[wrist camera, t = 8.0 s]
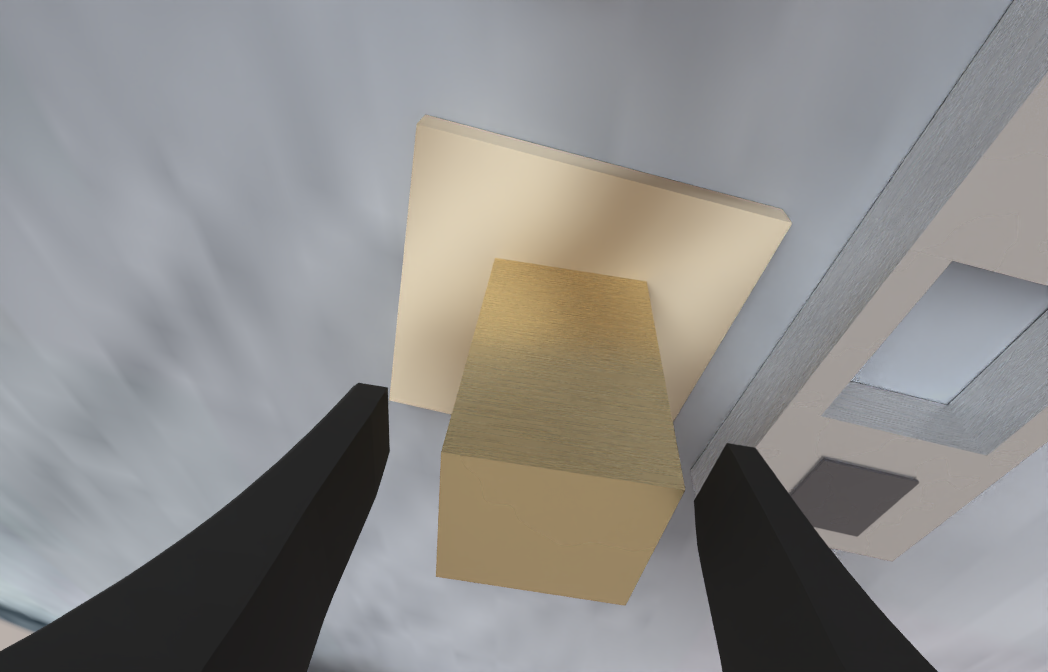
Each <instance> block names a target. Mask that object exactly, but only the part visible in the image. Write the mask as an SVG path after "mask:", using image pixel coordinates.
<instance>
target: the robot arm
mask: <svg viewBox="0 0 1048 672" xmlns="http://www.w3.org/2000/svg"><path fill="white" fill-rule="evenodd" d="M389 452H390V447H389V415H388V388H387V387H381V386H375V385H369V384H363V383H358V384H356V385H355V386H353V387H352V388H351V390H350V391H349V392H348V393H347V394H346V395H345V396H344V397H343V398H342V399H341V400H340V401H339V402H338V403H337V405H336V406H335V407H334V408H333V409H332V410H331V411H330V412H329V413H328V414H327V415H326V416H325V417H324V418H323V419H322V420H321V421H320V422H319V423H318V424H317V425H316V426H315V427H314V428H313V429H312V430H311V431H310V432H309V433H308V434H307V435H306V436H305V437H304V438H302V439H301V440H300V441H299V442H298V443H297V444H296V445H295V446H294V447H293V448H292V449H291V450H290V451H289V452H288V453H287V454H286V455H284V456H283V457H282V458H281V459H280V460H279V461H278V462H277V463H276V464H275V465H273V466H272V467H271V468H270V469H269V470H268V471H266V472H265V473H264V474H263V475H262V476H261V477H259V478H258V479H257V480H256V481H255V482H254V483H252V484H251V485H250V486H249V487H248V488H247V489H245V490H244V491H243V492H242V493H241V494H240V495H238V496H237V497H236V498H235V499H233V500H232V501H231V502H230V503H228V504H227V505H226V506H225V507H223V508H222V509H221V510H220V511H218V512H217V513H216V514H214V515H213V516H212V517H211V518H209V519H208V520H206V521H205V522H204V523H202V524H201V525H200V526H198V527H197V528H196V529H194V530H193V531H192V532H190V533H189V534H188V535H186V536H185V537H184V538H182V539H181V540H179V541H178V542H176V543H175V544H173V545H172V546H171V547H169V548H168V549H166V550H165V551H163V552H162V553H161V554H159V555H158V556H156V557H155V558H153V559H152V560H150V561H149V562H148V563H146V564H145V565H143V566H142V567H140V568H139V569H137V570H136V571H134V572H133V573H131V574H130V575H128V576H126V577H125V578H123V579H122V580H120V581H119V582H117V583H116V584H114V585H112V586H111V587H109V588H107V589H106V590H104V591H102V592H101V593H99V594H98V595H96V596H94V597H93V598H91V599H89V600H88V601H86V602H84V603H83V604H81V605H80V606H78V607H76V608H75V609H73V610H71V611H70V612H68V613H66V614H65V615H63V616H62V617H60V618H58V619H57V620H55V621H53V622H52V623H50V624H48V625H47V626H45V627H43V628H41V629H40V630H38V631H36V632H34V633H33V634H31V635H29V636H27V637H26V638H24V639H22V640H20V641H18V642H16V643H15V644H13V645H11V646H9V647H7V648H5V649H4V650H2V651H0V672H307V670H308V667H309V664H310V661H311V658H312V655H313V651H314V648H315V645H316V642H317V639H318V636H319V633H320V630H321V627H322V624H323V621H324V618H325V616H326V613H327V611H328V608H329V605H330V603H331V600H332V598H333V595H334V593H335V591H336V588H337V586H338V584H339V581H340V579H341V577H342V574H343V572H344V570H345V568H346V565H347V563H348V561H349V558H350V556H351V554H352V551H353V549H354V547H355V544H356V542H357V540H358V538H359V535H360V533H361V531H362V528H363V526H364V524H365V521H366V519H367V517H368V514H369V512H370V509H371V507H372V505H373V502H374V500H375V498H376V495H377V492H378V489H379V485H380V482H381V479H382V476H383V472H384V469H385V465H386V462H387V459H388V455H389ZM694 508H695V524H696V535H697V546H698V552H699V557H700V563H701V568H702V573H703V578H704V583H705V587H706V592H707V597H708V602H709V607H710V611H711V616H712V621H713V626H714V630H715V635H716V640H717V645H718V650H719V654H720V660H721V666H722V671H723V672H938V671H937V670H936V669H935V668H934V667H933V666H932V665H931V664H930V663H929V662H928V661H927V660H926V659H925V658H924V657H923V656H922V655H921V654H920V653H919V651H918V650H917V649H916V648H915V647H914V646H913V645H912V644H911V643H910V642H909V641H908V640H907V639H906V637H905V636H904V635H903V634H902V633H901V632H900V631H899V630H898V629H897V628H896V627H895V626H894V625H893V623H892V622H891V621H890V620H889V619H888V618H887V617H886V616H885V614H884V613H883V612H882V611H881V610H880V609H879V608H878V607H877V605H876V604H875V603H874V602H873V601H872V600H871V598H870V597H869V596H868V595H867V594H866V592H865V591H864V590H863V589H862V588H861V586H860V585H859V584H858V583H857V582H856V580H855V579H854V578H853V577H852V576H851V574H850V573H849V572H848V571H847V570H846V568H845V567H844V566H843V564H842V563H841V562H840V561H839V559H838V558H837V557H836V556H835V554H834V553H833V552H832V551H831V549H830V548H829V547H828V545H827V544H826V543H825V542H824V540H823V539H822V538H821V536H820V535H819V534H818V532H817V531H816V530H815V528H814V527H813V526H812V524H811V523H810V522H809V520H808V519H807V518H806V516H805V515H804V514H803V512H802V511H801V510H800V508H799V507H798V505H797V504H796V503H795V501H794V500H793V499H792V497H791V496H790V494H789V493H788V492H787V490H786V489H785V488H784V486H783V485H782V483H781V482H780V481H779V479H778V478H777V476H776V475H775V474H774V472H773V471H772V469H771V468H770V467H769V465H768V464H767V463H766V461H765V460H764V458H763V457H762V456H761V454H760V453H759V452H758V450H757V449H756V448H755V447H749V446H743V445H737V444H730V443H726V445H725V447H724V449H723V450H722V452H721V454H720V456H719V457H718V459H717V461H716V463H715V465H714V466H713V468H712V470H711V472H710V473H709V475H708V477H707V479H706V480H705V482H704V484H703V486H702V487H701V489H700V491H699V493H698V494H697V496H696V498H695V500H694Z"/></svg>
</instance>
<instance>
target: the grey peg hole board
mask: <svg viewBox="0 0 1048 672" xmlns="http://www.w3.org/2000/svg"><path fill="white" fill-rule="evenodd" d="M952 261H956V262H959V263H963V264H967V265H971V266H974V267H978V268H982V269H986V270H990V271H993V272H997V273H1001V274H1005V275H1008V276H1012V277H1016V278H1020V279H1024V280H1027V281H1031V282H1035V283H1039V284H1043V285H1046V286H1048V0H1014V1H1013V3H1012V4H1011V6H1010V7H1009V9H1008V10H1007V11H1006V13H1005V14H1004V16H1003V17H1002V19H1001V20H1000V22H999V23H998V25H997V26H996V27H995V29H994V30H993V32H992V33H991V35H990V36H989V38H988V39H987V41H986V42H985V43H984V45H983V46H982V48H981V49H980V51H979V52H978V54H977V55H976V57H975V58H974V59H973V61H972V62H971V64H970V65H969V67H968V68H967V70H966V71H965V72H964V74H963V75H962V77H961V78H960V80H959V81H958V83H957V84H956V86H955V87H954V88H953V90H952V91H951V93H950V94H949V96H948V97H947V99H946V100H945V102H944V103H943V104H942V106H941V107H940V109H939V110H938V112H937V113H936V115H935V116H934V118H933V119H932V120H931V122H930V123H929V125H928V126H927V128H926V129H925V131H924V132H923V134H922V135H921V136H920V138H919V139H918V141H917V142H916V144H915V145H914V147H913V148H912V150H911V151H910V152H909V154H908V155H907V157H906V158H905V160H904V161H903V163H902V164H901V166H900V167H899V168H898V170H897V171H896V173H895V174H894V176H893V177H892V179H891V180H890V182H889V183H888V184H887V186H886V187H885V189H884V190H883V192H882V193H881V195H880V196H879V198H878V199H877V200H876V202H875V203H874V205H873V206H872V208H871V209H870V211H869V212H868V214H867V215H866V216H865V218H864V219H863V221H862V222H861V224H860V225H859V227H858V228H857V230H856V231H855V232H854V234H853V235H852V237H851V238H850V240H849V241H848V243H847V244H846V245H845V247H844V248H843V250H842V251H841V253H840V254H839V256H838V257H837V259H836V260H835V261H834V263H833V264H832V266H831V267H830V269H829V270H828V272H827V273H826V275H825V276H824V277H823V279H822V280H821V282H820V283H819V285H818V286H817V288H816V289H815V291H814V292H813V293H812V295H811V296H810V298H809V299H808V301H807V302H806V304H805V305H804V307H803V308H802V309H801V311H800V312H799V314H798V315H797V317H796V318H795V320H794V321H793V323H792V324H791V325H790V327H789V328H788V330H787V331H786V333H785V334H784V336H783V337H782V339H781V340H780V341H779V343H778V344H777V346H776V347H775V349H774V350H773V352H772V353H771V355H770V356H769V357H768V359H767V360H766V362H765V363H764V365H763V366H762V368H761V369H760V371H759V372H758V373H757V375H756V376H755V378H754V379H753V381H752V382H751V384H750V385H749V387H748V388H747V389H746V391H745V392H744V394H743V395H742V397H741V398H740V400H739V401H738V403H737V404H736V405H735V407H734V408H733V410H732V411H731V413H730V414H729V416H728V417H727V418H726V420H725V421H724V423H723V424H722V426H721V427H720V429H719V430H718V432H717V433H716V434H715V436H714V437H713V439H712V440H711V442H710V443H709V445H708V446H707V448H706V449H705V450H704V452H703V453H702V455H701V456H700V458H699V459H698V461H697V462H696V464H695V465H694V466H693V468H692V469H691V471H690V472H691V477H692V482H693V487H694V492H695V497H696V496H697V494H698V493H699V491H700V489H701V487H702V486H703V484H704V482H705V480H706V479H707V477H708V475H709V473H710V472H711V470H712V468H713V466H714V465H715V463H716V461H717V459H718V457H719V456H720V454H721V452H722V450H723V449H724V447H725V445H726V443H730V444H737V445H743V446H749V447H755V448H756V449H757V450H758V452H759V453H760V454H761V456H762V457H763V458H764V460H765V461H766V463H767V464H768V465H769V467H770V468H771V469H772V471H773V472H774V474H775V475H776V476H777V478H778V479H779V481H780V482H781V483H782V485H783V486H784V488H785V489H786V490H787V492H788V493H789V494H790V496H791V497H792V499H793V500H794V501H795V503H796V504H797V505H798V507H799V508H800V510H801V511H802V512H803V514H804V515H805V516H806V518H807V519H808V520H809V522H810V523H811V524H812V526H813V527H814V528H815V530H816V531H817V532H818V534H819V535H820V536H821V538H822V539H823V540H824V542H825V543H826V544H827V545H828V547H829V548H833V549H838V550H842V551H847V552H851V553H856V554H860V555H865V556H869V557H874V558H878V559H883V560H888V561H894V560H895V559H896V558H897V557H899V556H900V555H901V554H903V553H904V552H905V551H907V550H908V549H909V548H910V547H912V546H913V545H914V544H916V543H917V542H918V541H920V540H921V539H922V538H923V537H925V536H926V535H927V534H929V533H930V532H931V531H933V530H934V529H935V528H936V527H938V526H939V525H940V524H942V523H943V522H944V521H946V520H947V519H948V518H949V517H951V516H952V515H953V514H955V513H956V512H957V511H958V510H960V509H961V508H962V507H964V506H965V505H966V504H968V503H969V502H970V501H971V500H973V499H974V498H975V497H977V496H978V495H979V494H981V493H982V492H983V491H984V490H986V489H987V488H988V487H990V486H991V485H992V484H994V483H995V482H996V481H997V480H999V479H1000V478H1001V477H1003V476H1004V475H1005V474H1007V473H1008V472H1009V471H1010V470H1012V469H1013V468H1014V467H1016V466H1017V465H1018V464H1020V463H1021V462H1022V461H1023V460H1025V459H1026V458H1027V457H1029V456H1030V455H1031V454H1032V453H1034V452H1035V451H1036V450H1038V449H1039V448H1040V447H1042V446H1043V445H1044V444H1045V443H1047V442H1048V310H1047V311H1046V312H1045V313H1044V314H1043V315H1042V316H1041V317H1040V318H1039V319H1037V320H1036V321H1035V322H1034V323H1033V324H1032V325H1031V326H1030V327H1029V328H1028V329H1027V330H1026V331H1025V332H1024V333H1023V334H1022V335H1021V336H1020V337H1019V338H1018V339H1017V340H1015V341H1014V342H1013V343H1012V344H1011V345H1010V346H1009V347H1008V348H1007V349H1006V350H1005V351H1004V352H1003V353H1002V354H1001V355H1000V356H999V357H998V358H997V359H996V360H995V361H993V362H992V363H991V364H990V365H989V366H988V367H987V368H986V369H985V370H984V371H983V372H982V373H981V374H980V375H979V376H978V377H977V378H976V379H975V380H974V381H973V382H971V383H970V384H969V385H968V386H967V387H966V388H965V389H964V390H963V391H962V392H961V393H960V394H959V395H958V396H957V397H956V398H955V399H954V400H953V401H952V402H951V403H949V404H948V405H945V404H941V403H937V402H933V401H929V400H924V399H920V398H916V397H912V396H908V395H904V394H900V393H896V392H892V391H888V390H883V389H879V388H875V387H871V386H867V385H863V384H859V383H855V382H851V380H852V379H853V377H854V376H855V375H856V374H857V373H858V372H859V370H860V369H861V368H862V367H863V366H864V364H865V363H866V362H867V361H868V360H869V359H870V357H871V356H872V355H873V354H874V353H875V351H876V350H877V349H878V348H879V347H880V346H881V344H882V343H883V342H884V341H885V340H886V339H887V337H888V336H889V335H890V334H891V333H892V331H893V330H894V329H895V328H896V327H897V326H898V324H899V323H900V322H901V321H902V320H903V318H904V317H905V316H906V315H907V314H908V313H909V311H910V310H911V309H912V308H913V307H914V305H915V304H916V303H917V302H918V301H919V300H920V298H921V297H922V296H923V295H924V294H925V293H926V291H927V290H928V289H929V288H930V287H931V285H932V284H933V283H934V282H935V281H936V280H937V278H938V277H939V276H940V275H941V274H942V272H943V271H944V270H945V269H946V268H947V267H948V265H949V264H950V263H951V262H952Z"/></svg>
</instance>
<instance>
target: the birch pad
mask: <svg viewBox="0 0 1048 672" xmlns="http://www.w3.org/2000/svg"><path fill="white" fill-rule="evenodd" d="M791 224H792V222H791V221H790V219H789V218H788V217H787V215H786V214H785V213H784V211H783V210H782V209H780V208H776V207H772V206H768V205H764V204H761V203H757V202H753V201H749V200H746V199H742V198H738V197H734V196H730V195H727V194H723V193H719V192H715V191H712V190H708V189H704V188H700V187H697V186H693V185H689V184H685V183H681V182H678V181H674V180H670V179H666V178H663V177H659V176H655V175H651V174H648V173H644V172H640V171H636V170H632V169H629V168H625V167H621V166H617V165H614V164H610V163H606V162H602V161H598V160H595V159H591V158H587V157H583V156H580V155H576V154H572V153H568V152H565V151H561V150H557V149H553V148H549V147H546V146H542V145H538V144H534V143H531V142H527V141H523V140H519V139H515V138H512V137H508V136H504V135H500V134H497V133H493V132H489V131H485V130H482V129H478V128H474V127H470V126H466V125H463V124H459V123H455V122H451V121H448V120H444V119H440V118H436V117H433V116H429V115H424V117H423V118H422V119H421V120H420V121H419V122H418V123H417V127H416V137H415V147H414V157H413V167H412V177H411V187H410V197H409V207H408V218H407V228H406V238H405V248H404V258H403V268H402V278H401V288H400V298H399V308H398V318H397V328H396V338H395V349H394V359H393V369H392V379H391V389H390V399H389V400H390V401H394V402H399V403H403V404H408V405H412V406H417V407H421V408H425V409H430V410H434V411H439V412H443V413H447V414H452V411H453V408H454V404H455V401H456V397H457V393H458V390H459V386H460V382H461V379H462V375H463V372H464V368H465V364H466V361H467V357H468V354H469V350H470V346H471V343H472V339H473V335H474V332H475V328H476V325H477V321H478V317H479V314H480V310H481V306H482V303H483V299H484V296H485V292H486V288H487V285H488V281H489V278H490V274H491V270H492V267H493V263H494V259H495V258H500V259H506V260H512V261H519V262H525V263H532V264H538V265H545V266H551V267H558V268H564V269H570V270H577V271H583V272H590V273H596V274H603V275H609V276H615V277H622V278H628V279H635V280H641V281H647V286H648V291H649V297H650V302H651V308H652V313H653V318H654V324H655V329H656V335H657V340H658V345H659V351H660V356H661V362H662V367H663V373H664V378H665V383H666V389H667V394H668V400H669V405H670V410H671V416H672V421H674V420H675V418H676V416H677V415H678V413H679V411H680V410H681V408H682V406H683V405H684V403H685V401H686V400H687V398H688V396H689V395H690V393H691V391H692V390H693V388H694V386H695V385H696V383H697V381H698V380H699V378H700V376H701V375H702V373H703V371H704V370H705V368H706V366H707V365H708V363H709V361H710V360H711V358H712V356H713V355H714V353H715V351H716V350H717V348H718V346H719V345H720V343H721V341H722V340H723V338H724V336H725V335H726V333H727V331H728V330H729V328H730V326H731V325H732V323H733V321H734V320H735V318H736V316H737V315H738V313H739V311H740V310H741V308H742V306H743V305H744V303H745V301H746V299H747V298H748V296H749V294H750V293H751V291H752V289H753V288H754V286H755V284H756V283H757V281H758V279H759V278H760V276H761V274H762V273H763V271H764V269H765V268H766V266H767V264H768V263H769V261H770V259H771V258H772V256H773V254H774V253H775V251H776V249H777V248H778V246H779V244H780V243H781V241H782V239H783V238H784V236H785V234H786V233H787V231H788V229H789V228H790V226H791Z"/></svg>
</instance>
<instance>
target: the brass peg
mask: <svg viewBox="0 0 1048 672" xmlns="http://www.w3.org/2000/svg"><path fill="white" fill-rule="evenodd" d="M684 491H685V486H684V481H683V475H682V470H681V464H680V459H679V454H678V448H677V443H676V437H675V432H674V427H673V421H672V416H671V410H670V405H669V400H668V394H667V389H666V383H665V378H664V373H663V367H662V362H661V356H660V351H659V345H658V340H657V335H656V329H655V324H654V318H653V313H652V308H651V302H650V297H649V291H648V286H647V281H641V280H635V279H628V278H622V277H615V276H609V275H603V274H596V273H590V272H583V271H577V270H570V269H564V268H558V267H551V266H545V265H538V264H532V263H525V262H519V261H512V260H506V259H500V258H495V259H494V263H493V267H492V270H491V274H490V278H489V281H488V285H487V288H486V292H485V296H484V299H483V303H482V306H481V310H480V314H479V317H478V321H477V325H476V328H475V332H474V335H473V339H472V343H471V346H470V350H469V354H468V357H467V361H466V364H465V368H464V372H463V375H462V379H461V382H460V386H459V390H458V393H457V397H456V401H455V404H454V408H453V411H452V415H451V419H450V422H449V426H448V430H447V433H446V437H445V440H444V444H443V448H442V451H441V469H440V492H439V516H438V540H437V564H436V577H442V578H448V579H455V580H461V581H468V582H475V583H481V584H488V585H494V586H501V587H507V588H514V589H520V590H527V591H534V592H540V593H547V594H553V595H560V596H566V597H573V598H579V599H586V600H593V601H599V602H606V603H612V604H619V605H626V603H627V602H628V600H629V598H630V596H631V594H632V592H633V590H634V588H635V586H636V584H637V582H638V580H639V578H640V576H641V574H642V573H643V571H644V569H645V567H646V565H647V563H648V561H649V559H650V557H651V555H652V553H653V551H654V549H655V547H656V545H657V543H658V542H659V540H660V538H661V536H662V534H663V532H664V530H665V528H666V526H667V524H668V522H669V520H670V518H671V516H672V514H673V513H674V511H675V509H676V507H677V505H678V503H679V501H680V499H681V497H682V495H683V493H684Z"/></svg>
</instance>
